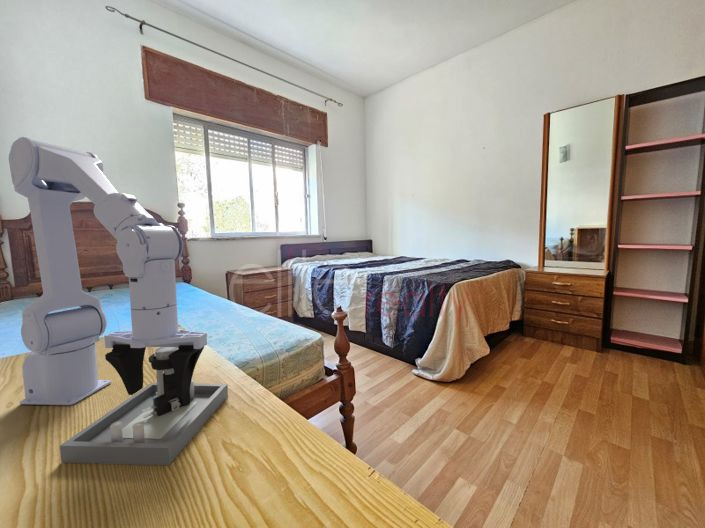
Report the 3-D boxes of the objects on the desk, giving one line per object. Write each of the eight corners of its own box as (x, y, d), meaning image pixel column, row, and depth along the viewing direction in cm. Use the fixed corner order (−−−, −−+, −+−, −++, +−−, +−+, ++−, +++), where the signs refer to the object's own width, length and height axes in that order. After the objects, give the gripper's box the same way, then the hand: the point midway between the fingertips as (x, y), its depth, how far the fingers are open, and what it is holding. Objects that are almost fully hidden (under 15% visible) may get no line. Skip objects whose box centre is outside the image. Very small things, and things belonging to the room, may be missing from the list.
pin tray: (61, 462, 36) (58, 434, 36) (152, 394, 52) (151, 374, 52) (169, 465, 36) (167, 436, 36) (227, 396, 52) (227, 375, 52)
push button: (150, 427, 42) (145, 361, 41) (136, 414, 45) (132, 352, 44) (196, 405, 47) (193, 347, 47) (181, 395, 50) (178, 340, 50)
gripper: (82, 311, 39) (89, 406, 41) (185, 312, 39) (190, 408, 40) (124, 300, 46) (129, 381, 48) (212, 301, 46) (215, 382, 47)
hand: (159, 392), depth 44 cm, fingers open, 7 cm apart
